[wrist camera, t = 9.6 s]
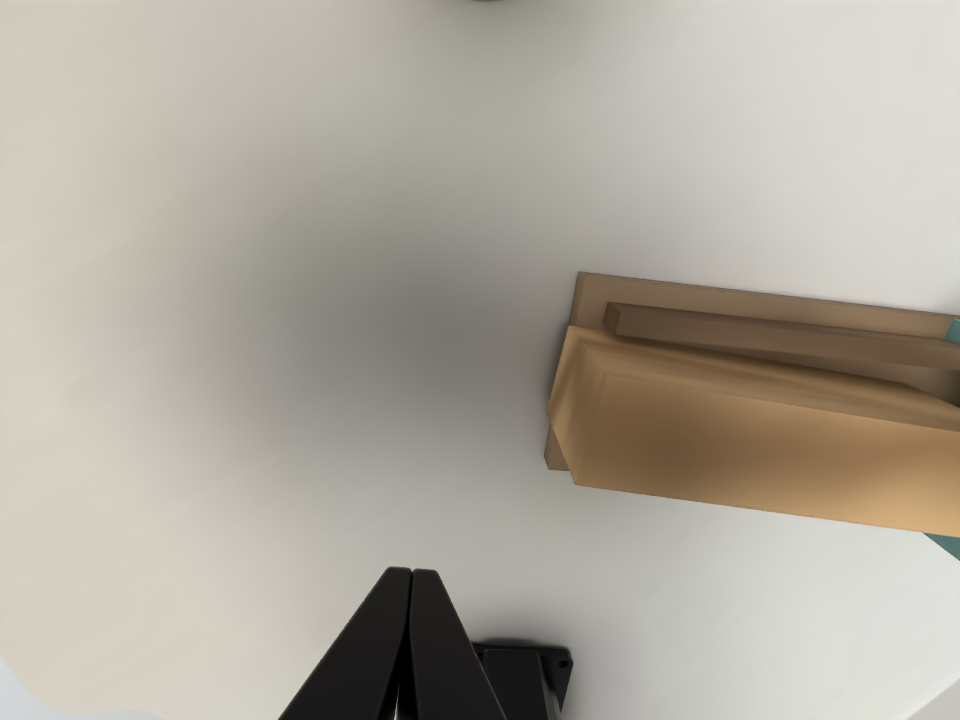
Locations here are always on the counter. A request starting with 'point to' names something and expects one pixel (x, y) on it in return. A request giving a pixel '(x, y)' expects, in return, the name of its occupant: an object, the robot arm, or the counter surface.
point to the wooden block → (754, 433)
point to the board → (773, 332)
